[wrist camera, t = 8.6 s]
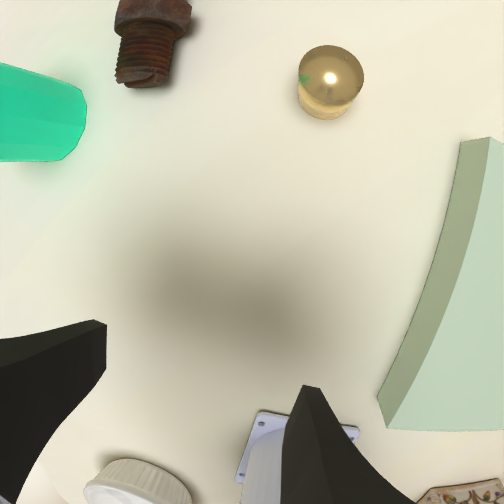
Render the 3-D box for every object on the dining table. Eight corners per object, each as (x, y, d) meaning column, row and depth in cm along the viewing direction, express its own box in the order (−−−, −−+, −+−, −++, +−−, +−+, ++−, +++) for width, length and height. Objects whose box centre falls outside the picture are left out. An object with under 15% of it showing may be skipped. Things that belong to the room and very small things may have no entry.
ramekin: (206, 473, 24) (192, 515, 19) (197, 519, 27) (186, 552, 22) (98, 434, 25) (73, 468, 20) (109, 488, 28) (92, 517, 22)
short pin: (344, 125, 17) (358, 111, 13) (293, 112, 17) (293, 94, 13) (353, 79, 16) (367, 55, 12) (303, 66, 16) (305, 39, 12)
